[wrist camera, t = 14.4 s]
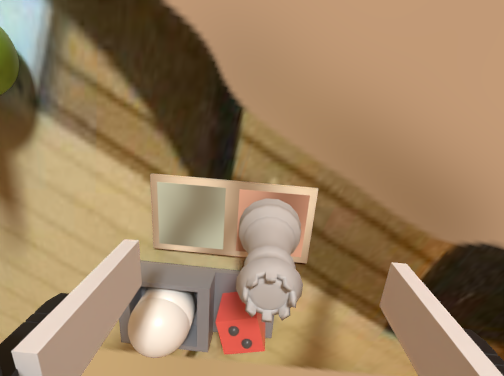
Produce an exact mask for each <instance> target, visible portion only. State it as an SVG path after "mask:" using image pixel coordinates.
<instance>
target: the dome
mask: <svg viewBox="0 0 504 376" xmlns="http://www.w3.org/2000/svg"><path fill="white" fill-rule="evenodd" d="M196 310H197V298H196V296H195V294H194V292H191V291H181V290H172V289H163V288H153V287H148V288H147V290H146V291H145V293H144V294H143V296H142V297H141V299H140V300H139V302H138V303H137V305H136V306H135V308H134V309H133V311H132V313H131V315H130V318H129V322H128V336H129V340H130V342H131V344H132V346H133V347H134V349H135V350H136V351H137V352H139V353H140V354H142V355H144V356H146V357H151V358H159V357H163V356H166V355H169V354H170V353H172V352H174V351H175V350H176V349H178V348H179V347H180V346H181V344H182V343H183V342H184V340H185V339H186V337H187V335H188V333H189V330H190V327H191V324H192V321H193V319H194V316H195V313H196Z"/></svg>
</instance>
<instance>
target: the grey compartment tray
mask: <svg viewBox="0 0 504 376" xmlns="http://www.w3.org/2000/svg"><path fill="white" fill-rule="evenodd" d="M140 264H141V279H142V285H141V287H140V288H139V290H138V291H137V293H136V294H135V296H134V297H133V299H132V300H131V302H130V303H129V305H128V306H127V308H126V309H125V311H124V312H123V314H122V315H121V317H120V318H119V323H120V333H121V342H124V343H131V342H130V340H129V336H128V322H129V318H130V315H131V313H132V311H133V309H134V308H135V306H136V305H137V303H138V302H139V300H140V299H141V297H142V296H143V294H144V293H145V291H146V290H147V288H148V287H153V288H163V289H172V290H181V291H191V292H194V294H195V296H196V298H197V310H196V313H195V316H194V319H193V321H192V324H191V327H190V330H189V333H188V335H187V337H186V339H185V340H184V342H183V343H182V344H181V346H180V347H179V348H178V349H184V350H193V351H202V352H208V350H209V346H210V342H211V338H212V334H213V332H218V333H219V337H220V340H221V344H222V347H223V351H224V354H236V353H247V352H259V351H265V338H271V336H272V328H273V320H274V315H272V323H269V322H261V320H262V314H260V313H258V312H256V314H255V315H254V316H253V317H251V316H250V315H249V314H248V313H247V312H246V311H245V307H246V304H245V303H244V302H242V300H241V299H240V297H239V295H238V292H237V290H236V281H237V276H238V275H239V273H240V271H236V270H227V269H217V268H207V267H197V266H188V265H178V264H168V263H158V262H149V261H140Z"/></svg>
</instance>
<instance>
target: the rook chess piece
mask: <svg viewBox="0 0 504 376" xmlns="http://www.w3.org/2000/svg"><path fill="white" fill-rule="evenodd" d="M300 236H301V223H300V220H299V217H298V214H297V213H296V211H295V210H294V209H293V208H292V207H291V206H290V205H289V204H287V203H285V202H283V201H281V200H279V199H267V198H266V199H262V200H259V201H256V202H254V203H252V204H251V205H250V206H248V207H247V208H246V209H245V210H244V212H243V214H242V216H241V218H240V224H239V238H240V241H241V243H242V246H243V248H244V249H245V250H246V251H247V253H248V256H247V257H246V259H245V261H244V267H243V268H242V269H241V271H240V273H239V275H238V276H237V281H236V290H237V292H238V295H239V297H240V299H241V300H242V302H244V303H245V304H246V307H245V311H246V312H247V313H248V314H249V315H250V316H251V317H253V316H254V315H255V314H256V312H258V313H260V314H262V320H261V322H269V323H272V315H276V314H279V317H280V318H281V320H284V319H285V318H287V317H288V316H290V308H291V307H295V308H296V302H297V301H298V299H299V298H300V297H301V294H302V287H303V283H302V280H301V277H300V274H299V273H298V272H297V271H296V269H295V264H294V261H293V258H292V257H291V256H290V255H291V254H292V253H293V252H294V251H295V249H296V247H297V246H298V244H299V242H300Z"/></svg>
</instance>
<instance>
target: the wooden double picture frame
mask: <svg viewBox="0 0 504 376" xmlns="http://www.w3.org/2000/svg"><path fill="white" fill-rule="evenodd" d="M150 182H151V203H152V224H153V245H154V248H159V249H169V250H179V251H189V252H199V253H209V254H219V255H229V256H239V257H247V256H248V253H247V251H246V250H245V249H244V248H243V246H242V243H241V241H240V238H239V224H240V218H241V216H242V214H243V212H244V210H245V209H246V208H247V207H248V206H250V205H251V204H252V203H254V202H256V201H259V200H262V199H266V198H267V199H279V200H281V201H283V202H285V203H287V204H289V205H290V206H291V207H292V208H293V209H294V210H295V211H296V213H297V214H298V217H299V220H300V223H301V236H300V242H299V244H298V246H297V247H296V249H295V251H294V252H293V253H292V254H291V255H290V256H291V257H292V258H293V261H294V262H299V263H307V257H308V251H309V245H310V238H311V232H312V225H313V219H314V213H315V206H316V200H317V193H318V188H310V187H299V186H288V185H276V184H265V183H254V182H243V181H231V180H220V179H209V178H197V177H186V176H175V175H164V174H150Z"/></svg>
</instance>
